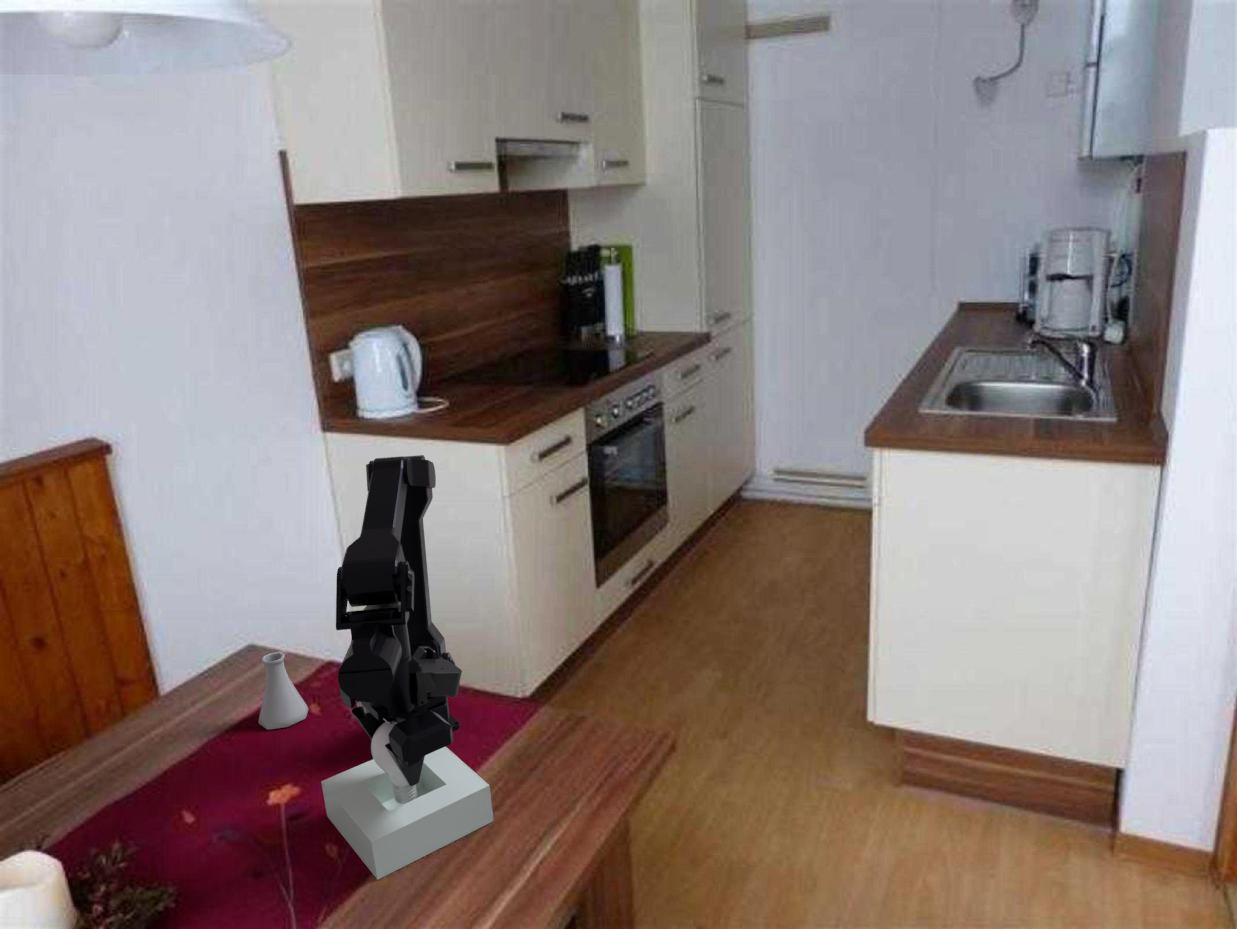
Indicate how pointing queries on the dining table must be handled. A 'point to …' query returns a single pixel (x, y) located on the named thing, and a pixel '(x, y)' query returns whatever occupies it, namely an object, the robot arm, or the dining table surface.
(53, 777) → the dining table surface
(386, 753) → the lightbulb
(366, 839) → the socket block
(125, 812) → the dining table surface
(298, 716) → the flask
